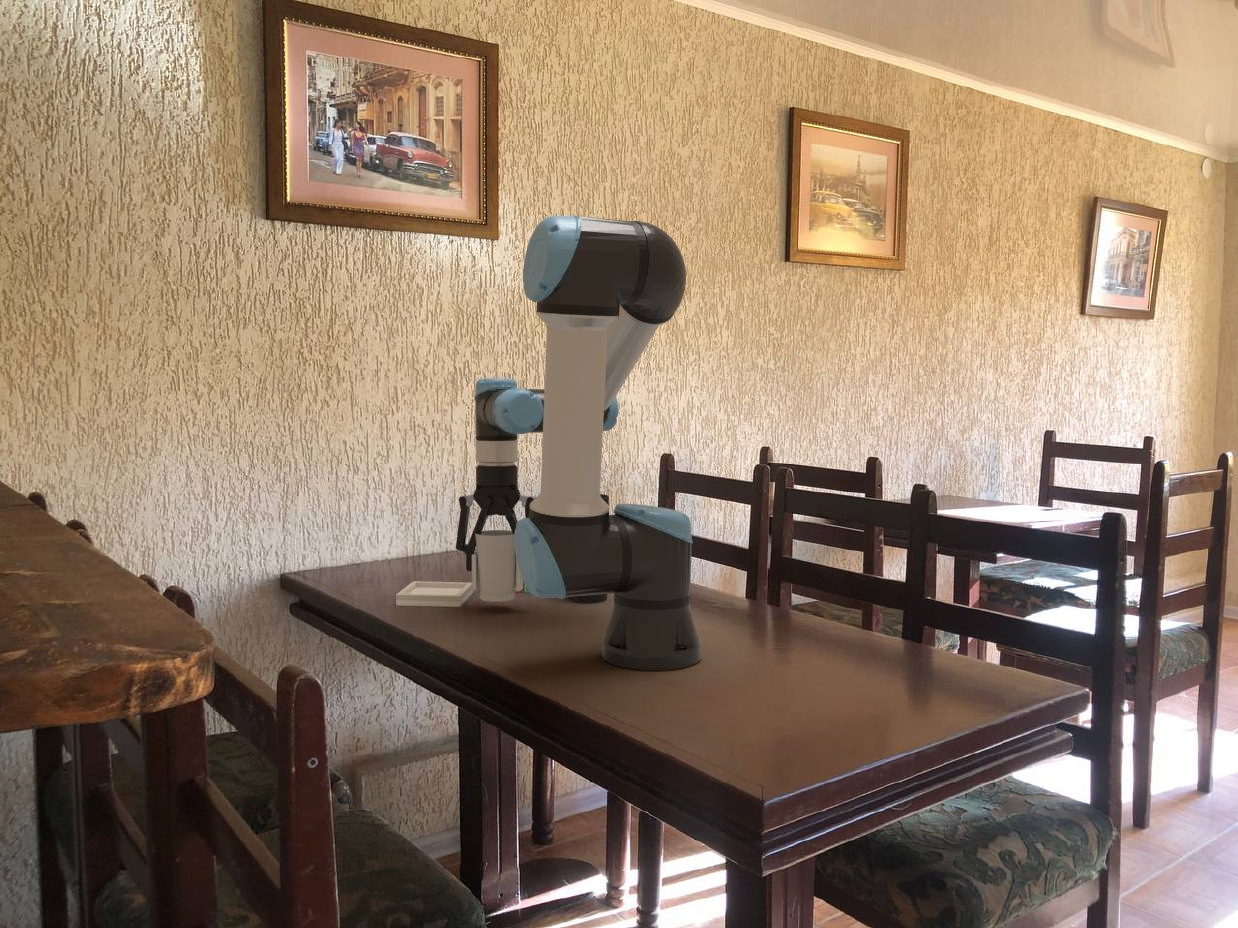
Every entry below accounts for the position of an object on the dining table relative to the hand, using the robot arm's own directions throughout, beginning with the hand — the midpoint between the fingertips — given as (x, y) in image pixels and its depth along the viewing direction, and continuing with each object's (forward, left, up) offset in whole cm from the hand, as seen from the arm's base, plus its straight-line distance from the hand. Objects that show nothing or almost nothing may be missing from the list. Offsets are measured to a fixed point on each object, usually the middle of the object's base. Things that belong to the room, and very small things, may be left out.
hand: (497, 588), depth 179 cm
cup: (0, 0, -2) cm, 2 cm away
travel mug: (+11, -16, -4) cm, 19 cm away
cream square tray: (+8, +13, -4) cm, 16 cm away
